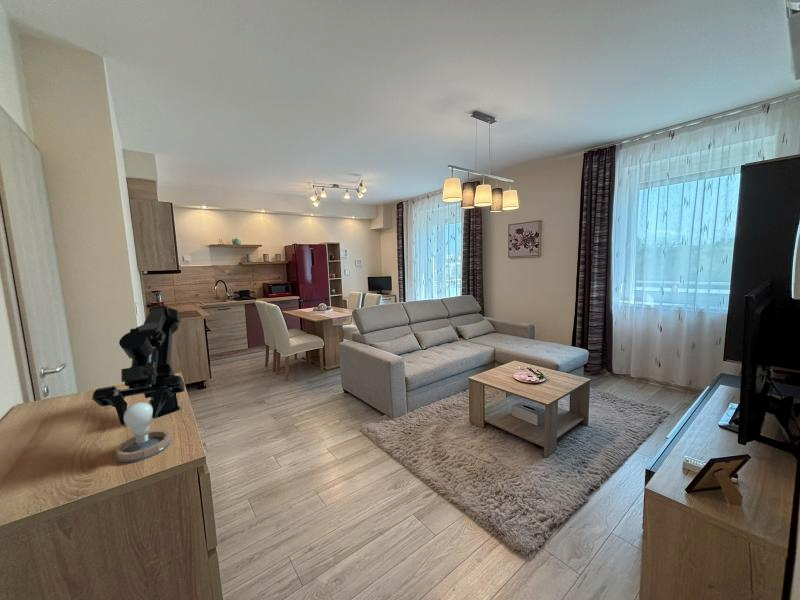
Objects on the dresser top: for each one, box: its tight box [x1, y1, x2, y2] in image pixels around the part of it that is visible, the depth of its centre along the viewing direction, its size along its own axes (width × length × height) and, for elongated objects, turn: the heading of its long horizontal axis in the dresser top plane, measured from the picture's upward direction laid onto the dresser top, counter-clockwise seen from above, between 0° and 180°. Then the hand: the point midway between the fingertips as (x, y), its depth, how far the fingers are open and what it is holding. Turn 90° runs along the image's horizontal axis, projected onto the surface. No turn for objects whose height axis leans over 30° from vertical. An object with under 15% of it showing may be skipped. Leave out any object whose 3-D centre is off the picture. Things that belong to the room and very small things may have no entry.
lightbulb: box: [123, 401, 154, 444], centre depth 84 cm, size 6×6×11 cm
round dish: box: [115, 429, 172, 464], centre depth 84 cm, size 11×11×2 cm
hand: (138, 421), depth 82 cm, fingers closed on lightbulb, 6 cm apart
